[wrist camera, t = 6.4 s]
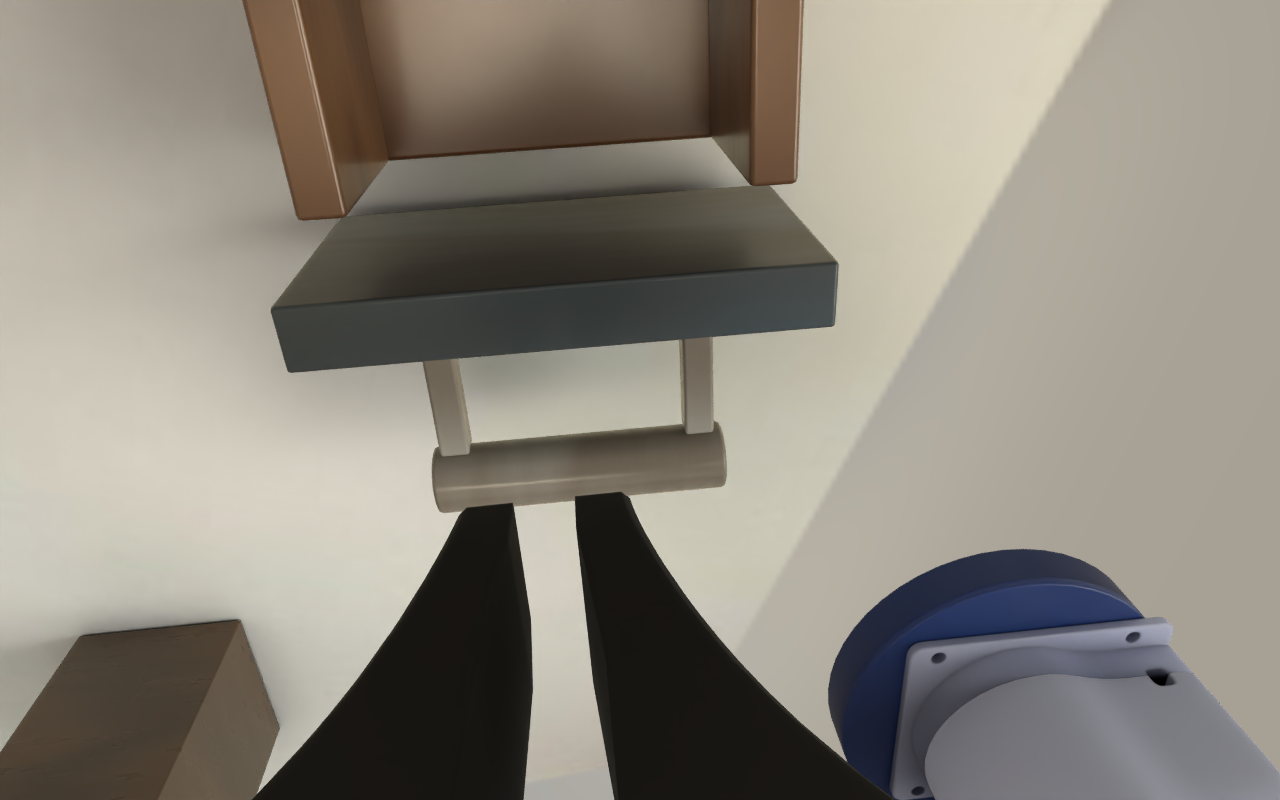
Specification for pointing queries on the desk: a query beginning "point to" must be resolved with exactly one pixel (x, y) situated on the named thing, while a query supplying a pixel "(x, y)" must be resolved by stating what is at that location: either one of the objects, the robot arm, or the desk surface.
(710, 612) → the desk surface
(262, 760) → the stand
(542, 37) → the drawer
